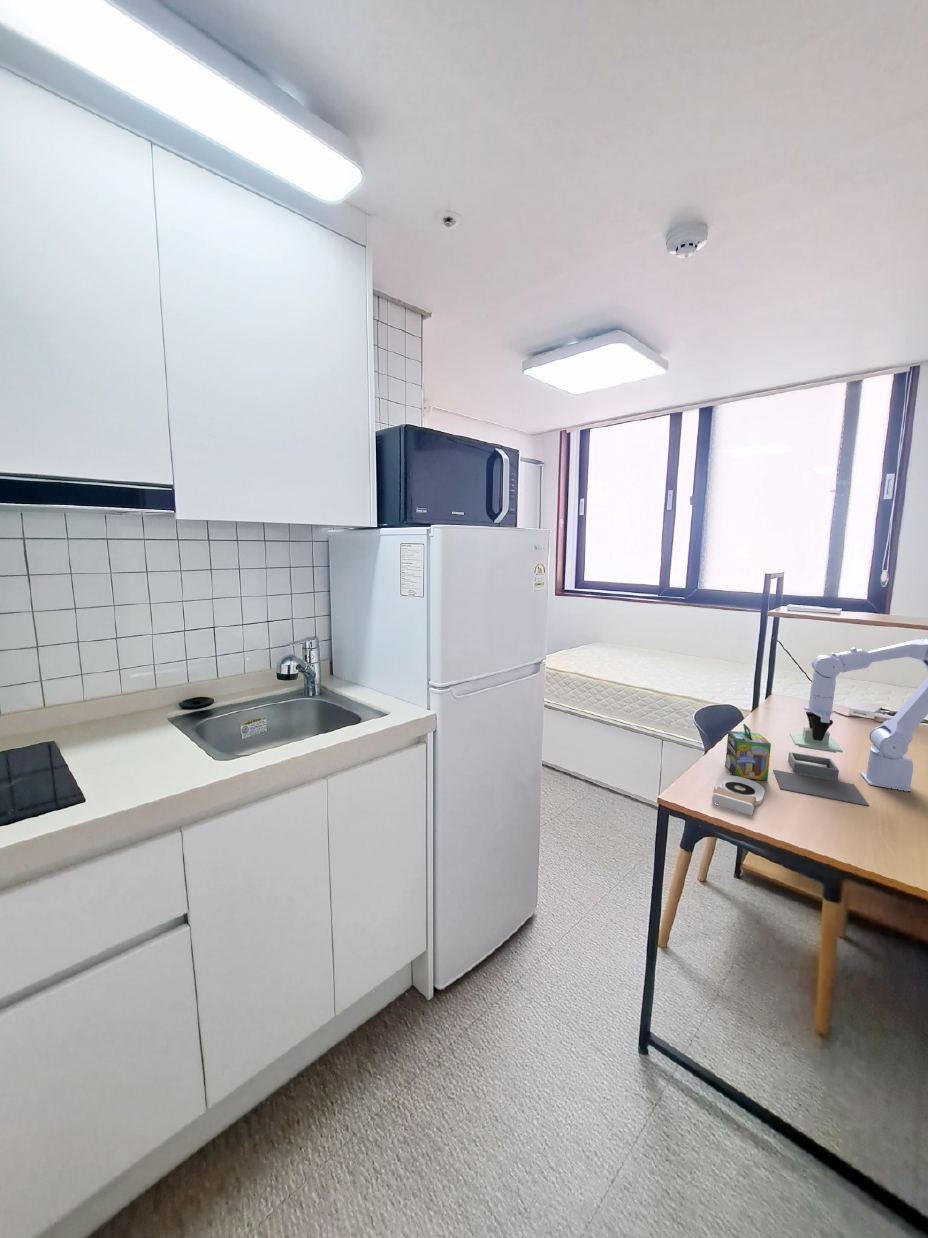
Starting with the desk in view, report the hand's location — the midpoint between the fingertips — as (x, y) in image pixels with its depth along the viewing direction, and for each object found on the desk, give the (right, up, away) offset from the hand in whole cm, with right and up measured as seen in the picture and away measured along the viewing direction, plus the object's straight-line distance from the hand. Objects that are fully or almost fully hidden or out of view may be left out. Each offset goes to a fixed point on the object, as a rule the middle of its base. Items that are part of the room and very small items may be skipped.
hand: (816, 738), depth 147 cm
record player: (-32, -13, -14) cm, 37 cm away
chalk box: (-22, -10, -1) cm, 25 cm away
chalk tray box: (0, -11, +2) cm, 11 cm away
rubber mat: (-6, -12, -9) cm, 16 cm away
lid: (0, -2, 0) cm, 3 cm away
